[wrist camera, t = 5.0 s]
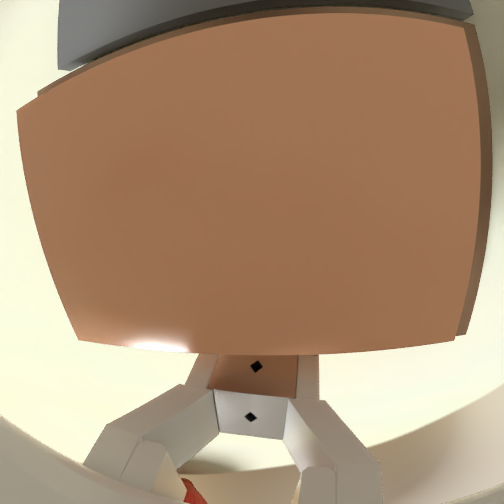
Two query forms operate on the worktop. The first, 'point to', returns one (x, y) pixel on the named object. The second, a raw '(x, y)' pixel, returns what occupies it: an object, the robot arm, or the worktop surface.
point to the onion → (192, 493)
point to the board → (481, 101)
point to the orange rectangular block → (263, 187)
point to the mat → (181, 19)
